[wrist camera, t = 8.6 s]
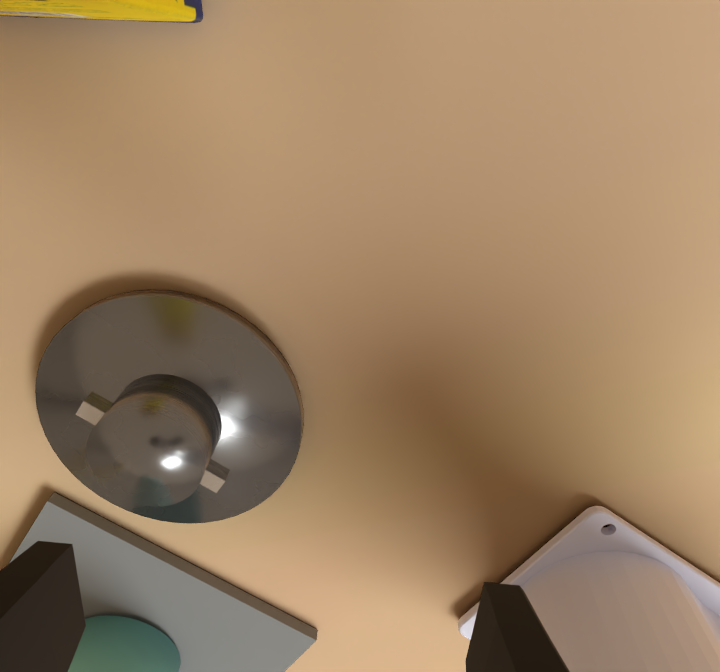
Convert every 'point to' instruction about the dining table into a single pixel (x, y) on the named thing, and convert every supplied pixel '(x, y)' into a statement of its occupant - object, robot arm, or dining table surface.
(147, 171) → the dining table surface
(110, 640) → the cap
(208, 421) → the metal flanged disc
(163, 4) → the supplement box
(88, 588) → the mat
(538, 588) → the robot arm
